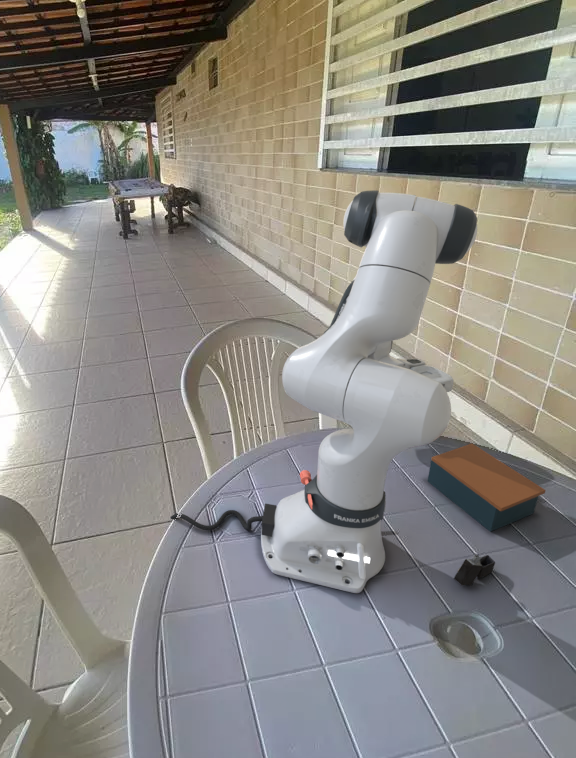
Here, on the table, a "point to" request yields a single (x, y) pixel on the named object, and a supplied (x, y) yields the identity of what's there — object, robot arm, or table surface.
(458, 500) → the case
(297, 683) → the table surface
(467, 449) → the cover
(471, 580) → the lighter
